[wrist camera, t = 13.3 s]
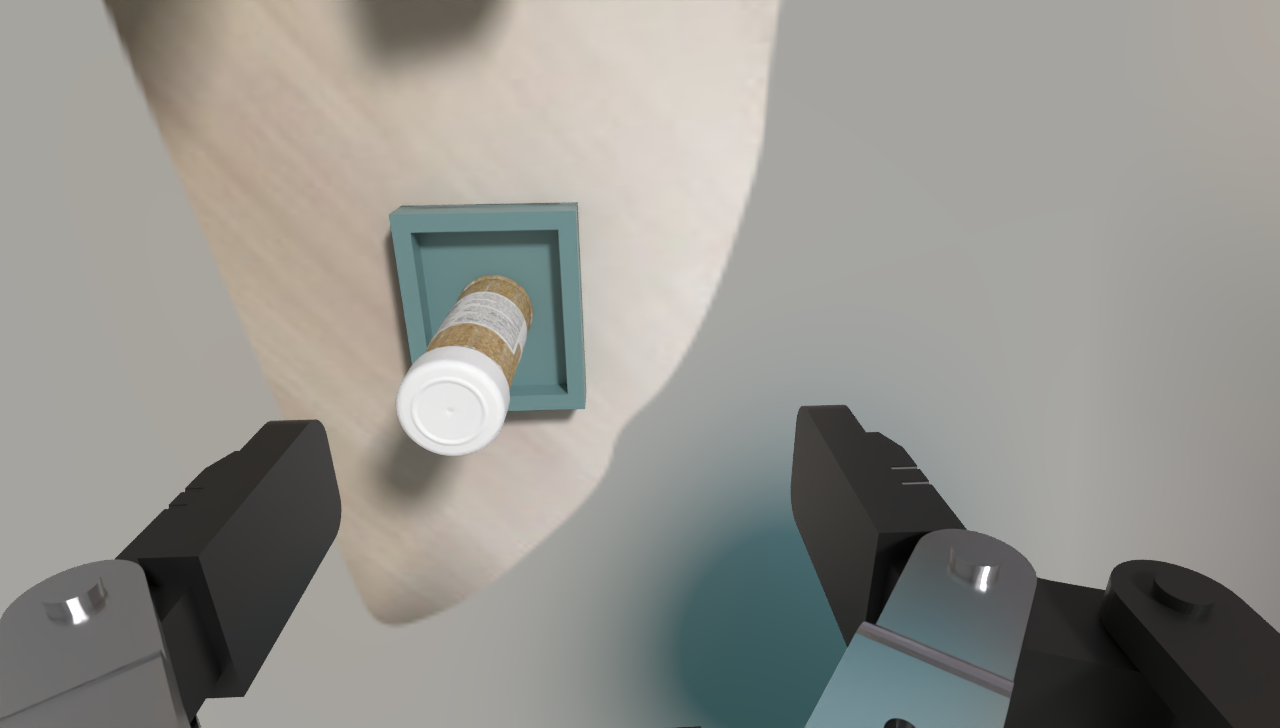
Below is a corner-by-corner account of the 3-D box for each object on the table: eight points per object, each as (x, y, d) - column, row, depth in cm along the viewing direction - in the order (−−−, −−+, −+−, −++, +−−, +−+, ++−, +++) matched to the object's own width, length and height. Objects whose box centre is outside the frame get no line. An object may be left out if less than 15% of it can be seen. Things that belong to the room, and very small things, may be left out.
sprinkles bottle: (500, 359, 42) (456, 479, 30) (441, 309, 41) (369, 414, 29) (550, 308, 41) (527, 411, 29) (492, 255, 40) (440, 340, 27)
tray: (401, 205, 39) (388, 214, 37) (577, 202, 40) (575, 210, 38) (429, 395, 44) (419, 413, 42) (586, 391, 45) (585, 408, 42)
